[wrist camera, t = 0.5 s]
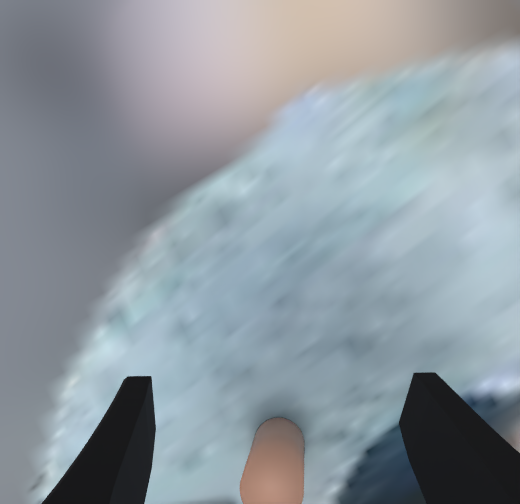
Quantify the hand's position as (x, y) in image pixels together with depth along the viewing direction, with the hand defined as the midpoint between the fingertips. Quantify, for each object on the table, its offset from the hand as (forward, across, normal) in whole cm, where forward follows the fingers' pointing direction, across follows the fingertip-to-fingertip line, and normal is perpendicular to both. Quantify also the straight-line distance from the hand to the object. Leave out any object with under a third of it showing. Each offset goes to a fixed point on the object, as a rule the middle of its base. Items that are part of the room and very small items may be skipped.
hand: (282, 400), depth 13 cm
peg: (+15, -3, +22) cm, 27 cm away
